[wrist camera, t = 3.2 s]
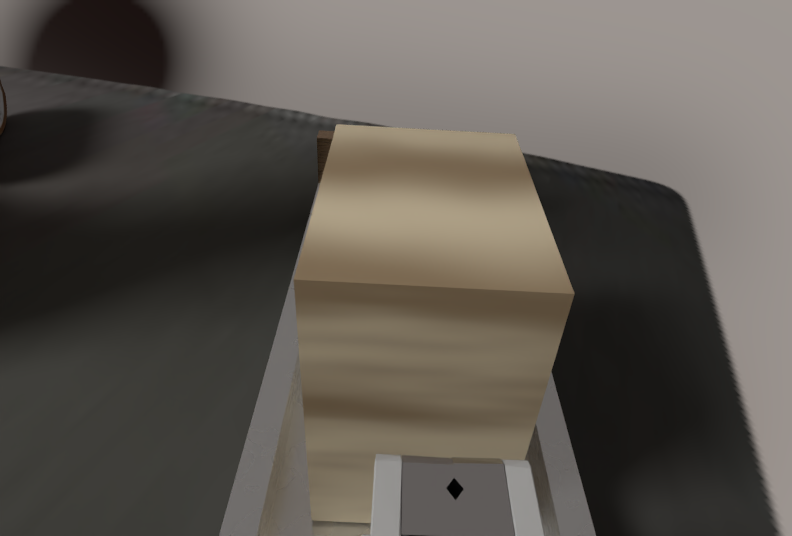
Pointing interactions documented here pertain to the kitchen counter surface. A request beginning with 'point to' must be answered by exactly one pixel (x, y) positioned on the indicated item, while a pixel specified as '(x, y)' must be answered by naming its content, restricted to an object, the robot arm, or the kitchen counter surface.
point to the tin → (2, 109)
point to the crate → (422, 307)
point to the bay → (287, 459)
